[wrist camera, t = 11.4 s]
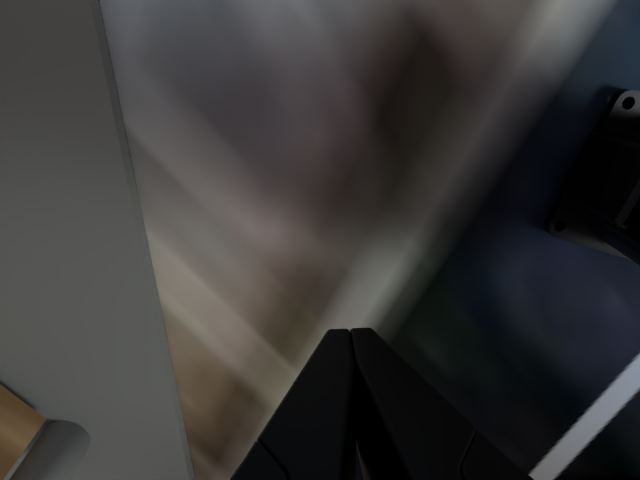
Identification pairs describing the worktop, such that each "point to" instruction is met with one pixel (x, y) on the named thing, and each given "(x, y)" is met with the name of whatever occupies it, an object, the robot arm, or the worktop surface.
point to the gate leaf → (15, 429)
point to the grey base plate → (78, 260)
